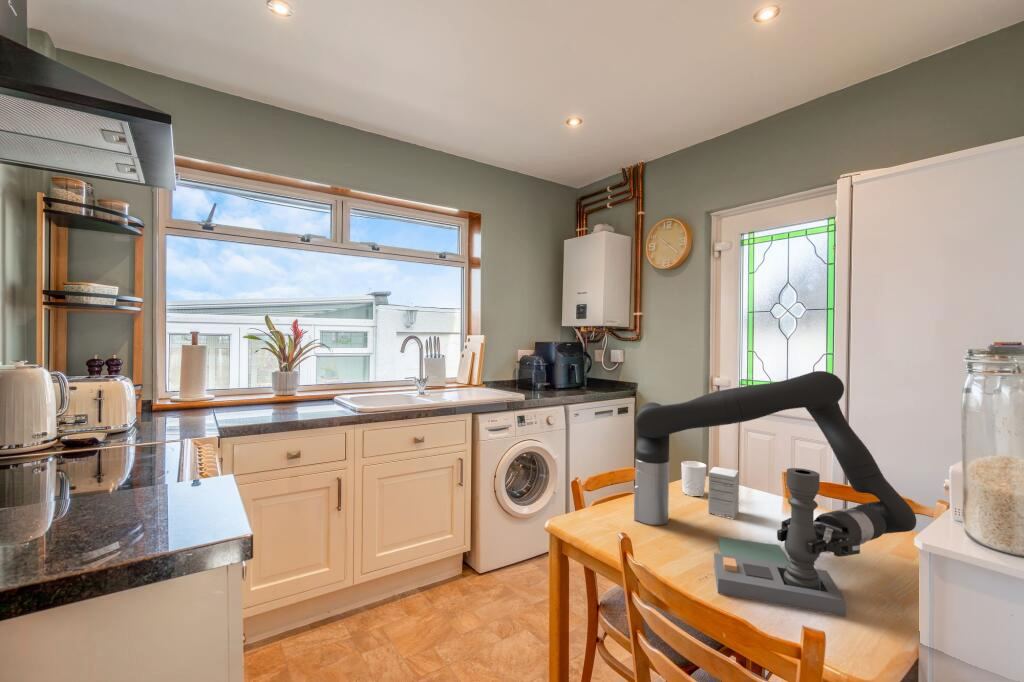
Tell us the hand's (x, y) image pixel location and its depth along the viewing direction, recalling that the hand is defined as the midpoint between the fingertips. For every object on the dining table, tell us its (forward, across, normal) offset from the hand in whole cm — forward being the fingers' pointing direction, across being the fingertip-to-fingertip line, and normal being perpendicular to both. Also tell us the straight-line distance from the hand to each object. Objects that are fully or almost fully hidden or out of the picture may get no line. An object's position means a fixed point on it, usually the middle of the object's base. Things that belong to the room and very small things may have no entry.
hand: (794, 542), depth 93 cm
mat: (-8, -16, +11) cm, 21 cm away
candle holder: (-2, 0, +11) cm, 11 cm away
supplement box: (-24, -38, +11) cm, 46 cm away
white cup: (-29, -54, +11) cm, 62 cm away
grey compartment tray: (+1, -4, +11) cm, 12 cm away
